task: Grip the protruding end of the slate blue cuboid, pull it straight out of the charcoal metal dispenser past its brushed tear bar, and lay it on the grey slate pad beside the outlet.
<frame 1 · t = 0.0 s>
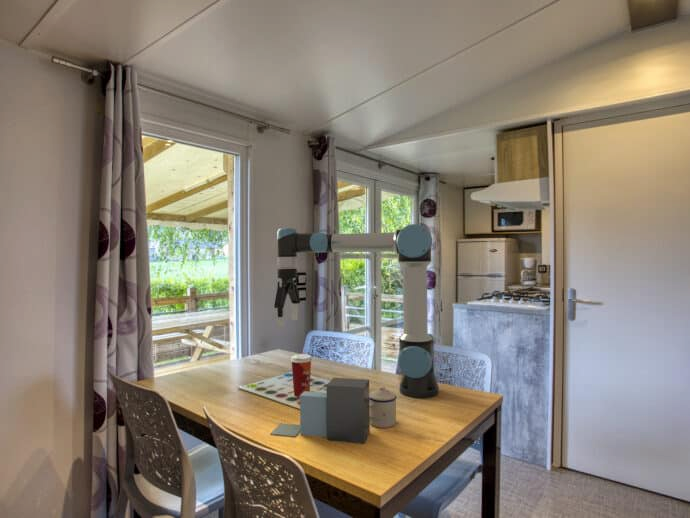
hand: (288, 322, 164), 28 cm above the table, fingers open, 13 cm apart
teacup with lid: (379, 424, 134), on the table
dispenser: (346, 436, 126), on the table
coffee cup: (301, 395, 163), on the table
pad: (287, 430, 130), on the table
slate blue cuboid: (324, 434, 127), on the table
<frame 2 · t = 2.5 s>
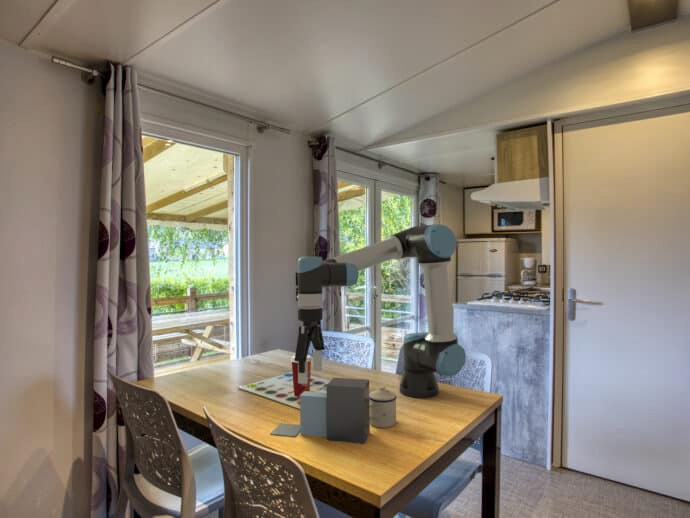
hand: (310, 376, 128), 17 cm above the table, fingers open, 13 cm apart
nothing on the table moved.
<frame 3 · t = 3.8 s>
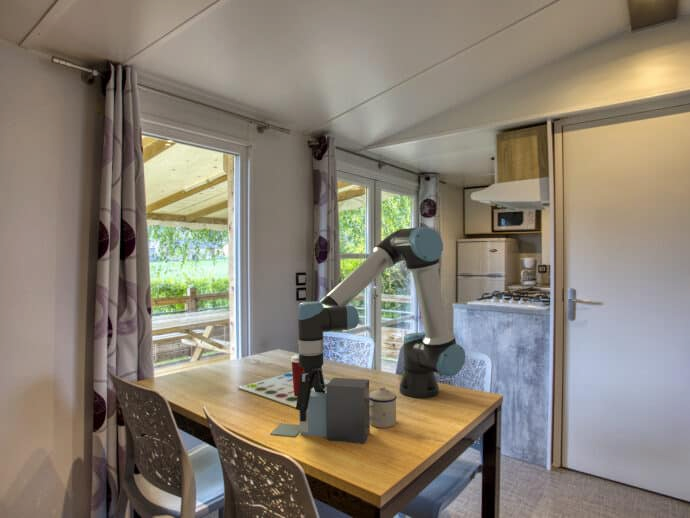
hand: (311, 422, 128), 3 cm above the table, fingers open, 13 cm apart
nothing on the table moved.
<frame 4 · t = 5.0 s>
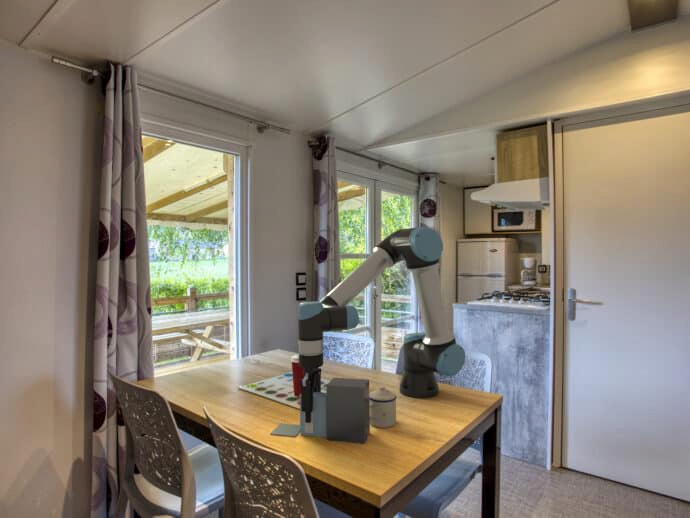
hand: (311, 428, 128), 1 cm above the table, fingers closed on slate blue cuboid, 4 cm apart
slate blue cuboid: (324, 434, 127), on the table, touching gripper
everything else where it was.
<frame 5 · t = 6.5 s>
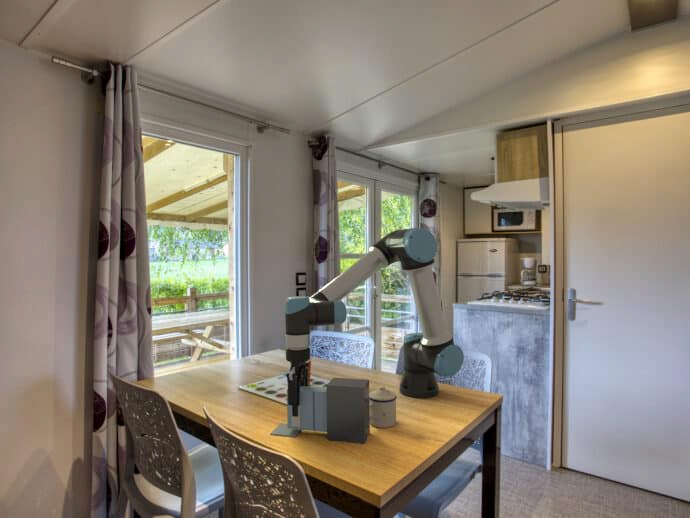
hand: (298, 422, 129), 3 cm above the table, fingers closed on slate blue cuboid, 4 cm apart
slate blue cuboid: (311, 427, 128), point 2 cm above the table, touching gripper
everything else where it was.
when the fingers open (3 cm above the table, at t = 8.4 s): slate blue cuboid drops 1 cm, resting on pad.
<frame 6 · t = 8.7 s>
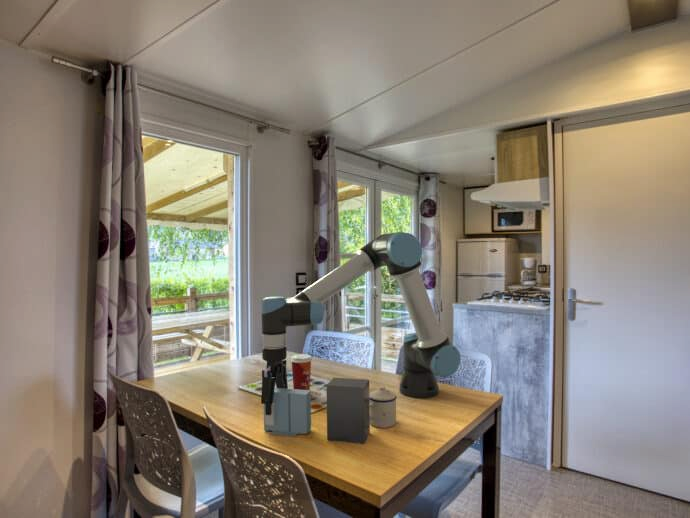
hand: (275, 419, 131), 3 cm above the table, fingers open, 8 cm apart
slate blue cuboid: (287, 429, 130), resting on pad
everything else where it was.
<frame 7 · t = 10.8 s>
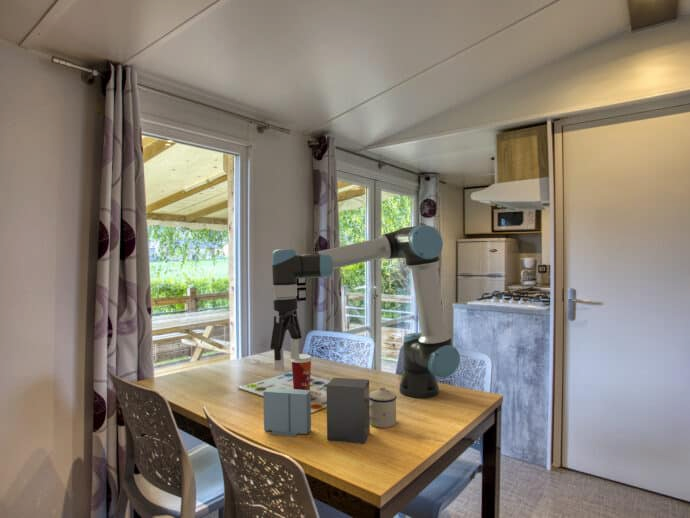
hand: (287, 364, 134), 20 cm above the table, fingers open, 13 cm apart
nothing on the table moved.
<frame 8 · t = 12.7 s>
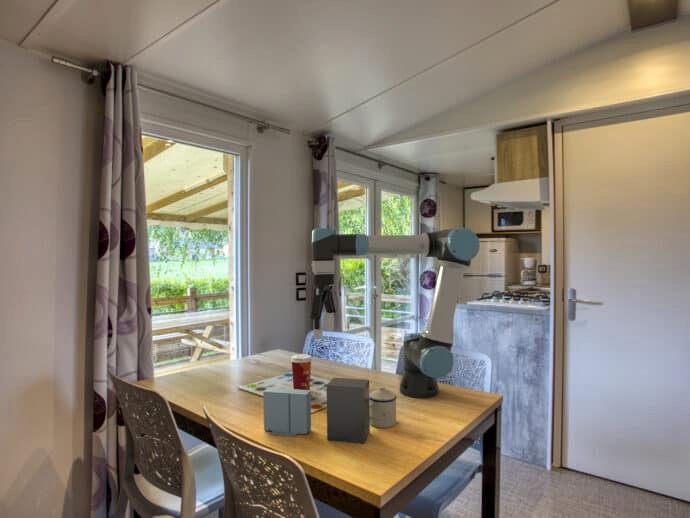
hand: (324, 334, 145), 27 cm above the table, fingers open, 13 cm apart
nothing on the table moved.
at the end: slate blue cuboid inside the target area on the pad (0.0 cm from its centre), point 0.3 cm above the pad's base; slate blue cuboid touching pad; the gripper is holding nothing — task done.
